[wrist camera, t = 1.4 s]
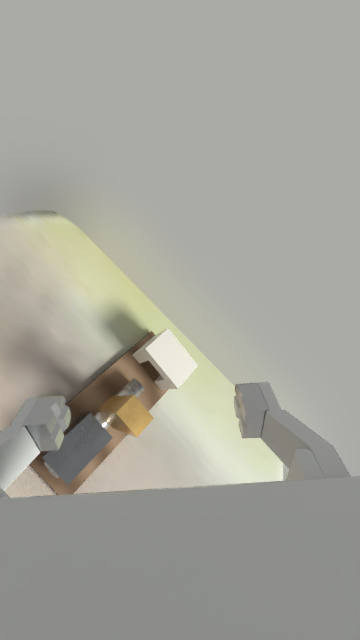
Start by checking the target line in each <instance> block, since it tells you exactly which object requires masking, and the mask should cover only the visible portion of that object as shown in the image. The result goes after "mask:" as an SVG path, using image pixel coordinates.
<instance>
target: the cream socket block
mask: <svg viewBox="0 0 360 640" xmlns="http://www.w3.org/2000/svg"><path fill="white" fill-rule="evenodd" d="M133 357H134V358H135V359H136V360H137V361H138V363H139V364H140V363H143V362H145V361H148V360H149V361H150V363H151V364H152V365H153V366H154V367H155V369H156V370H157V371H158V372H159V374H160V376H159V377H158V378H157V379H156V380H155V381H154V382H155V383H156V384H157V385H158V387H159V388H160V389H161V390H166V389H178V388H179V387H180V386H181V384H182V383H183V382H184V381H185V380H186V379H187V378H188V377H189V375H190V374H191V373H192V372H193V371H194V370H195V369H196V368H197V366H198V365H197V364H196V362H195V361H194V360H193V359H192V357H191V356H190V355H189V354H188V352H187V351H186V350H185V349H184V347H183V346H182V345H181V344H180V342H179V341H178V340H177V339H176V337H175V336H174V335H173V334H172V332H171V331H170V330H169V329H166V330H164V331H162V332H160V333H159V334H157V335H155V336H153V337H152V338H151V339H150V340H149V341H148V342H146V343H145V344H144V345H143V346H142V347H141V348H140V349H138V350H137V351H136V352H135V353H134V354H133Z"/></svg>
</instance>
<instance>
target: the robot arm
mask: <svg viewBox="0 0 360 640" xmlns="http://www.w3.org/2000/svg"><path fill="white" fill-rule="evenodd" d="M235 392H236V396H235V397H234V407H235V413H236V417H237V418H238V419H239V428H240V432H241V435H242V438H261V439H262V440H263V441H264V442H265V443H266V445H267V446H268V447H269V448H270V449H271V450H272V451H273V452H274V453H275V454H276V455H277V456H278V457H279V459H280V460H281V461H282V462H283V463H284V464H285V465H286V466H287V467H288V468H289V472H288V475H287V478H286V481H274V482H258V483H242V484H226V485H210V486H194V487H178V488H161V489H145V490H129V491H114V492H98V493H82V494H65V495H49V496H33V497H17V498H9V496H8V495H7V494H6V493H5V492H4V491H5V490H6V489H7V488H8V486H9V485H10V484H11V483H12V482H13V481H14V480H15V479H16V478H17V477H18V476H19V475H20V474H21V473H22V472H23V471H24V469H25V468H26V467H27V466H28V465H29V464H30V463H31V462H32V461H33V460H34V459H35V458H36V457H37V456H38V455H39V454H40V451H51V450H59V449H60V446H61V444H62V441H63V439H64V434H63V432H64V431H65V430H66V429H67V428H68V426H69V423H70V418H71V413H70V409H69V407H68V406H66V405H65V402H66V400H65V398H64V396H40V397H29V398H28V399H27V400H26V401H25V403H24V405H23V406H22V408H21V409H20V411H19V413H18V414H17V416H16V417H15V419H14V421H13V422H12V424H11V426H10V427H6V428H5V429H3V430H2V431H1V432H0V640H360V476H355V477H351V476H350V474H349V472H348V471H347V469H346V467H345V465H344V464H343V462H342V460H341V458H340V457H339V455H338V453H337V452H336V450H335V448H334V447H333V446H332V445H331V444H330V443H329V442H327V441H326V440H325V439H323V438H322V437H321V436H319V435H318V434H317V433H315V432H314V431H312V430H311V429H310V428H308V427H307V426H306V425H305V424H303V423H302V422H301V421H299V420H298V419H297V418H295V417H294V416H292V415H291V414H290V413H289V412H287V411H286V410H281V407H280V405H279V403H278V401H277V399H276V397H275V395H274V393H273V390H272V388H271V386H270V383H268V382H261V383H260V382H259V383H246V384H236V386H235Z"/></svg>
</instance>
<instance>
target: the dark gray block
mask: <svg viewBox="0 0 360 640" xmlns="http://www.w3.org/2000/svg"><path fill="white" fill-rule="evenodd" d="M63 434H64V439H63V441H62V444H61V446H60V449H59V450H51V451H41V453H42V458H43V459H44V460H45V462H46V463H47V464H48V465H49V466H50V467H51V468H52V469H53V470H54V471H55V472H56V473H57V474H58V476H59V477H60V478H61V479H62V480H63V481H64V482H65V483H66V484H67V485H69V484H70V483H71V481H72V480H73V479H74V478H75V477H76V476H77V475H78V474H79V473H80V472H81V471H82V470H83V469H84V468H85V467H86V466H87V465H88V463H89V462H90V461H91V460H92V459H93V458H94V457H95V456H96V455H97V454H98V453H99V452H100V451H101V450H102V449H103V448H104V446H105V445H106V444H107V443H108V442H109V441H110V440H111V439H112V438H113V437H112V436H111V435H110V434H109V433H108V432H107V430H106V429H105V428H104V427H103V426H102V425H101V424H100V422H99V421H98V420H97V419H96V418H95V417H94V416H93V414H92V413H91V412H86V411H85V412H84V413H83V414H82V415H81V416H80V417H78V418H77V419H76V420H75V421H74V422H73V423H72V424H71V425H70V426H69V427H68V428H67V429H66V430H65V431H64V432H63Z"/></svg>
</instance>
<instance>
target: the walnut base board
mask: <svg viewBox="0 0 360 640" xmlns="http://www.w3.org/2000/svg"><path fill="white" fill-rule="evenodd" d="M153 336H155V334H154V333H153V332H150V333H149V334H148V335H146V336H145V337H144V338H143V339H142V340H141V341H139V342H138V343H137V344H136V345H135V346H134V347H132V348H131V349H130V350H129V351H128V352H127V353H125V354H124V355H123V356H122V357H121V358H120V359H118V360H117V361H116V362H115V363H114V364H113V365H111V366H110V367H109V368H108V369H107V370H106V371H104V372H103V373H102V374H101V375H100V376H99V377H97V378H96V379H95V380H94V381H93V382H92V383H90V384H89V385H88V386H87V387H86V388H85V389H83V390H82V391H81V392H80V393H79V394H78V395H76V396H75V397H74V398H73V399H72V400H71V401H69V402H68V403H67V404H66V406H68V407H69V409H70V413H71V418H70V423H69V426H70V425H71V424H72V423H73V422H74V421H75V420H76V419H77V418H78V417H80V416H81V415H82V414H83V413H84V412H85V411H86V412H91V413H92V414H93V416H94V415H95V414H96V413H97V412H98V411H97V409H98V408H99V407H100V406H101V405H102V404H104V403H105V402H106V401H107V400H108V399H109V398H110V397H111V396H115V395H116V394H117V393H118V392H119V391H120V390H121V389H122V388H123V387H124V386H125V385H126V384H127V383H128V382H129V381H131V380H132V379H133V378H135V379H136V380H138V381H139V382H140V383H141V384H142V386H143V387H144V391H143V392H142V393H141V394H140V395H139V396H138V397H137V399H138V400H139V401H140V403H141V404H142V405H143V406H144V407H145V409H146V410H147V411H149V410H150V409H151V408H152V407H153V406H154V405H155V403H156V402H157V401H158V400H159V399H160V398H161V397H162V396H163V395H164V394H165V393H166V391H167V390H168V389H166V390H161V389H160V388H159V387H158V385H157V384H156V383H155V382H154V381H155V380H156V379H157V378H158V377H159V376H160V374H159V372H158V371H157V370H156V369H155V367H154V366H153V365H152V364H151V363H150V361H149V360H148V361H145V362H143V363H140V364H139V363H138V361H137V360H136V359H135V358H134V357H133V354H134V353H135V352H136V351H137V350H138V349H140V348H141V347H142V346H143V345H144V344H145V343H146V342H148V341H149V340H150V339H151V338H152V337H153ZM69 426H68V427H69ZM106 430H107V432H108V433H109V434H110V435H111V436H112V437H113V438H112V439H111V440H110V441H109V442H108V443H107V444H106V445H105V446H104V448H103V449H102V450H101V451H100V452H99V453H98V454H97V455H96V456H95V457H94V458H93V459H92V460H91V461H90V462H89V463H88V465H87V466H86V467H85V468H84V469H83V470H82V471H81V472H80V473H79V474H78V475H77V476H76V477H75V478H74V479H73V480H72V481H71V483H70V484H69V485H67V484H66V483H65V482H64V481H63V480H62V479H61V478H60V477H59V478H58V479H57V478H56V477H54V476H53V475H52V474H51V472H50V471H49V470H48V469H47V468H46V466H45V465H44V462H45V460H44V459H43V458H42V453H41V451H40V454H39V455H38V456H37V457H36V458H35V459H34V460H33V461H32V462H31V463H30V465H31V466H32V467H33V468H34V469H35V470H36V471H37V472H38V474H39V475H40V476H41V477H42V478H43V479H44V480H45V481H46V482H47V483H48V484H49V485H50V486H51V487H52V488H53V490H54V491H55V492H56V493H57V494H58V495H65V494H73V493H74V492H75V491H76V490H77V489H78V488H79V487H80V486H81V485H82V484H83V482H84V481H85V480H86V479H87V478H88V477H89V476H90V475H91V474H92V473H93V471H94V470H95V469H96V468H97V467H98V466H99V465H100V464H101V463H102V462H103V460H104V459H105V458H106V457H107V456H108V455H109V454H110V453H111V452H112V451H113V450H114V448H115V447H116V446H117V445H118V444H119V443H120V442H121V441H122V440H123V439H124V437H125V436H126V435H127V434H126V433H124V432H121V431H118V430H115V429H113V428H112V427H111V426H109V427H108V428H107V429H106Z"/></svg>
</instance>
